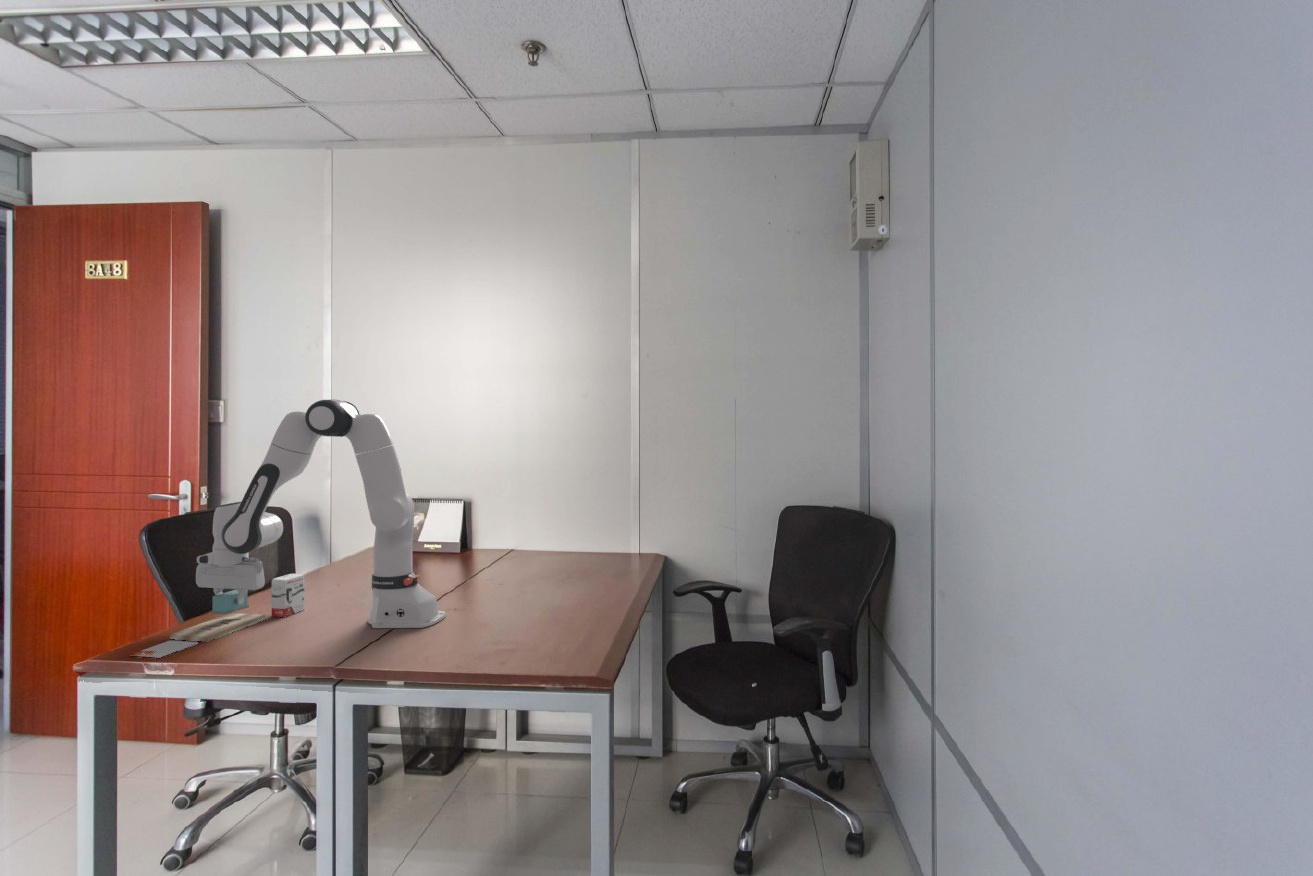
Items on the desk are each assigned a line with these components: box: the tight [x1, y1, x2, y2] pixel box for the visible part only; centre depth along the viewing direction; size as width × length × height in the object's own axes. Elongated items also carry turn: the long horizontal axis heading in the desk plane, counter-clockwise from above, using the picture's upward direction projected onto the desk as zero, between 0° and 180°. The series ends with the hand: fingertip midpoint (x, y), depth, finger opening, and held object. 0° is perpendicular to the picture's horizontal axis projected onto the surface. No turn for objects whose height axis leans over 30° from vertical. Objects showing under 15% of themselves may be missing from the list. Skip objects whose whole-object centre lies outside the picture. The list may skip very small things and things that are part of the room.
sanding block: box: [210, 589, 250, 616], centre depth 181 cm, size 5×8×5 cm, turn 169°
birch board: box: [169, 612, 266, 643], centre depth 177 cm, size 12×20×2 cm, turn 171°
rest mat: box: [137, 639, 199, 659], centre depth 160 cm, size 9×11×1 cm
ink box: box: [271, 573, 306, 618], centre depth 193 cm, size 9×5×12 cm, turn 168°
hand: (230, 603), depth 181 cm, fingers closed on sanding block, 4 cm apart
